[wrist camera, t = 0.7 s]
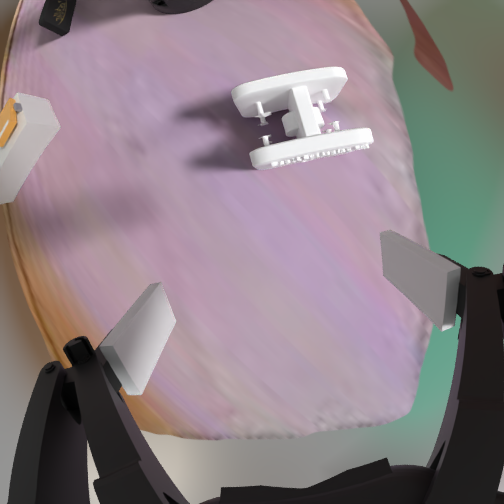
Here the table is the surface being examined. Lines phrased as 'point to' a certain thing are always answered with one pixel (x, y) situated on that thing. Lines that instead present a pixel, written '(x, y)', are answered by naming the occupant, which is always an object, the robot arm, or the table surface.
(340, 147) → the cable organizer
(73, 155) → the table surface
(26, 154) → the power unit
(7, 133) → the rocker orange
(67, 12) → the nameplate
